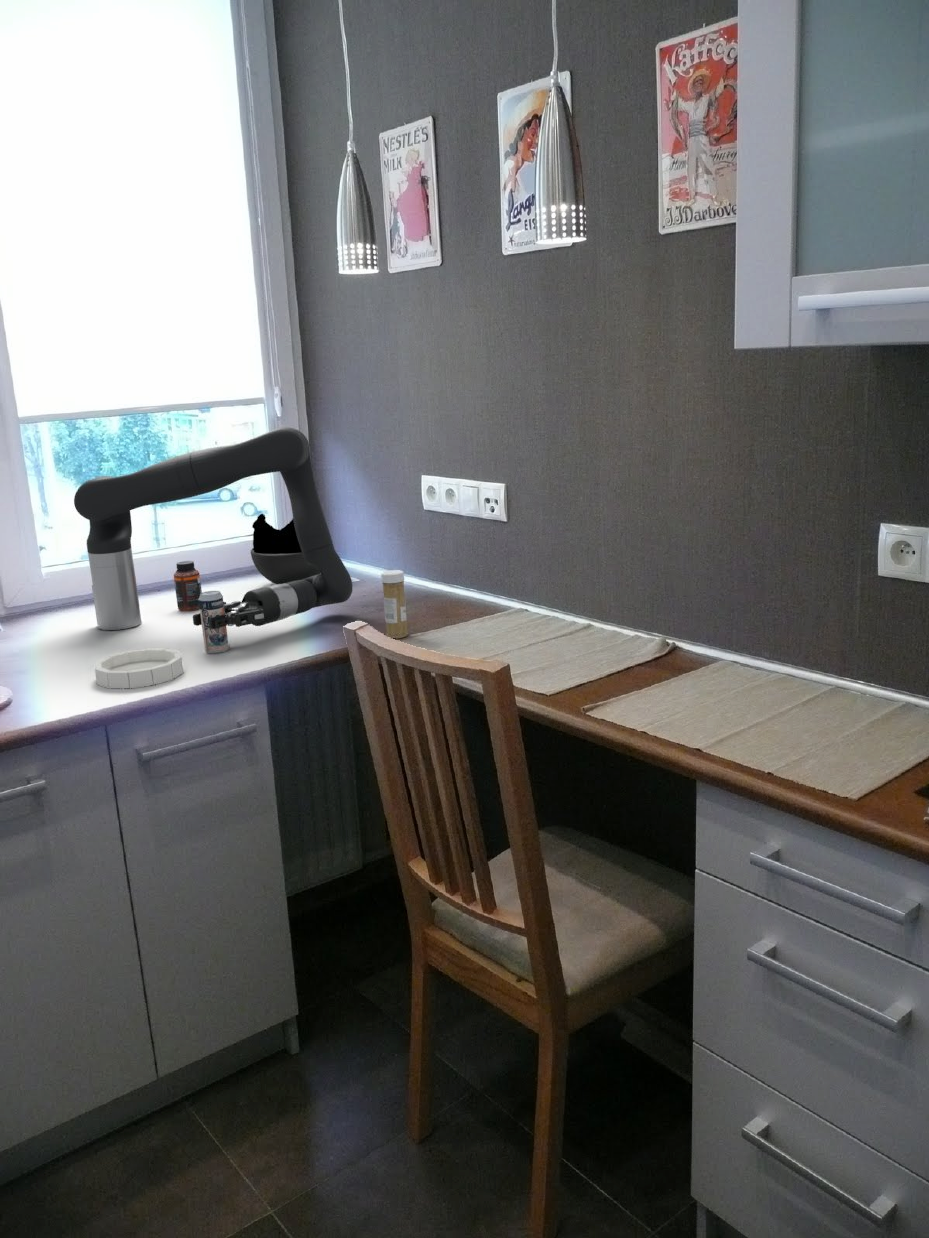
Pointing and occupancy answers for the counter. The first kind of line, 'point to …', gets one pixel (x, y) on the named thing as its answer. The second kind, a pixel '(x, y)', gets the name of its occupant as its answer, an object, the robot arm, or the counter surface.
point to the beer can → (209, 608)
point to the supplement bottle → (187, 586)
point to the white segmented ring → (138, 668)
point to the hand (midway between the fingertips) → (202, 622)
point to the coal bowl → (279, 553)
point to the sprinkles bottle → (394, 603)
